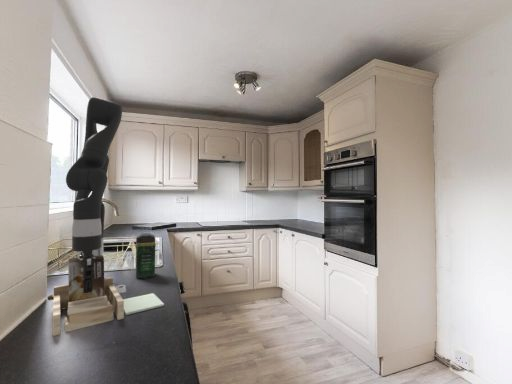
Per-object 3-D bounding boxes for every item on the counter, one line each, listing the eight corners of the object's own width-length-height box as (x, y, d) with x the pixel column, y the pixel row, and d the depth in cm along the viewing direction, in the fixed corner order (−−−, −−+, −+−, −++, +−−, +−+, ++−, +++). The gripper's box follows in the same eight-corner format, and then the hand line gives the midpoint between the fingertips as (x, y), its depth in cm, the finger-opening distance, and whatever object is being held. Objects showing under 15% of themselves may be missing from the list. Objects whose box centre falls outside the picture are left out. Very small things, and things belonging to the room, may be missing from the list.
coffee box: (103, 304, 86) (103, 254, 86) (105, 311, 80) (105, 257, 81) (68, 311, 81) (68, 257, 81) (67, 319, 75) (68, 262, 76)
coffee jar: (155, 277, 114) (155, 234, 115) (135, 280, 111) (135, 235, 112) (154, 272, 123) (154, 231, 124) (136, 274, 120) (136, 232, 121)
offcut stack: (64, 325, 72) (64, 302, 72) (110, 314, 79) (110, 293, 79) (65, 333, 68) (65, 309, 68) (113, 320, 75) (113, 299, 75)
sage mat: (118, 302, 87) (118, 300, 87) (153, 294, 94) (153, 293, 94) (126, 315, 78) (126, 312, 78) (164, 305, 84) (164, 303, 84)
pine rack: (53, 309, 82) (53, 286, 82) (112, 297, 92) (112, 277, 92) (52, 336, 66) (52, 307, 66) (123, 318, 76) (123, 293, 76)
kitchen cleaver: (41, 304, 85) (50, 292, 94) (41, 308, 85) (50, 295, 94) (127, 293, 95) (127, 283, 104) (126, 296, 95) (127, 286, 104)
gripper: (104, 235, 77) (104, 293, 77) (98, 230, 89) (98, 280, 89) (73, 237, 73) (72, 299, 73) (71, 232, 85) (70, 285, 84)
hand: (86, 288), depth 81 cm, fingers closed on coffee box, 6 cm apart
